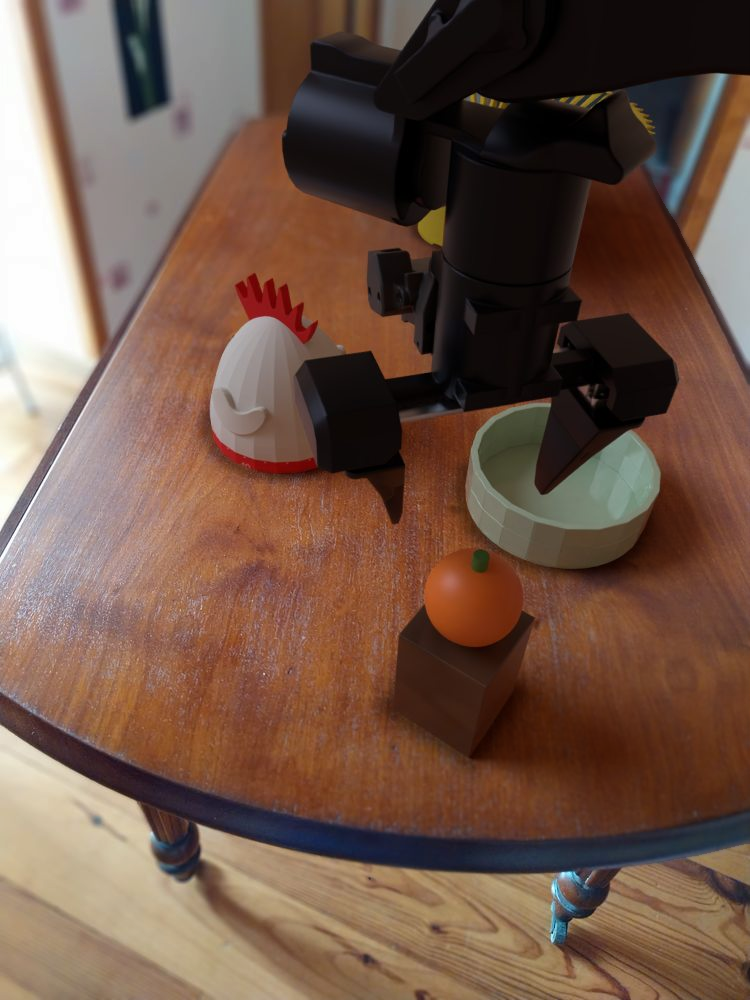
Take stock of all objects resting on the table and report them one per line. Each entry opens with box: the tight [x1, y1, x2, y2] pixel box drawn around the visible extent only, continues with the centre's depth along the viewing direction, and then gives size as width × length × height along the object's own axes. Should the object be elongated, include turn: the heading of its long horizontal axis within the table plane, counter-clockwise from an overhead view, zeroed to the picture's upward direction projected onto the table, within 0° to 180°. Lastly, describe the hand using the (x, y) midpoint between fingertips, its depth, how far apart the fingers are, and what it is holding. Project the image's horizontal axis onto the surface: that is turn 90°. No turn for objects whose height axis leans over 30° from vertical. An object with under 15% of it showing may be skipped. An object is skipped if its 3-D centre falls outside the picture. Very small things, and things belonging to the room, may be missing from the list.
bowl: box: [464, 402, 662, 570], centre depth 63 cm, size 15×15×5 cm
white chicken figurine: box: [209, 272, 347, 474], centre depth 66 cm, size 14×14×15 cm
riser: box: [392, 603, 536, 759], centre depth 48 cm, size 6×6×9 cm
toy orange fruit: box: [423, 547, 524, 647], centre depth 42 cm, size 6×6×6 cm
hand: (468, 503), depth 44 cm, fingers open, 9 cm apart
